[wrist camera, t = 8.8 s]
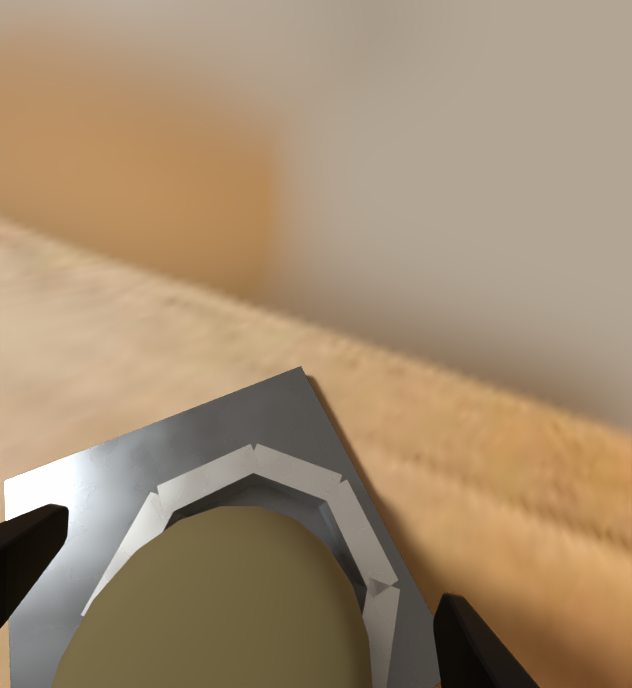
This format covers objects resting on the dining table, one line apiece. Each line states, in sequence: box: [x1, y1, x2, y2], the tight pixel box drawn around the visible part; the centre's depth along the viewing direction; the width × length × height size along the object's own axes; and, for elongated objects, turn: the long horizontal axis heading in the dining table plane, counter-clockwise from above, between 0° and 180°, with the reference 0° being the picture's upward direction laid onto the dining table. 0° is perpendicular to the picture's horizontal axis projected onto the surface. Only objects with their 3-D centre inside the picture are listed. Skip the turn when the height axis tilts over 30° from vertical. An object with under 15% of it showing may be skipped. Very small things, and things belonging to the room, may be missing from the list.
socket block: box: [5, 366, 441, 688], centre depth 13 cm, size 15×15×4 cm
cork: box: [51, 506, 373, 688], centre depth 9 cm, size 6×6×11 cm
